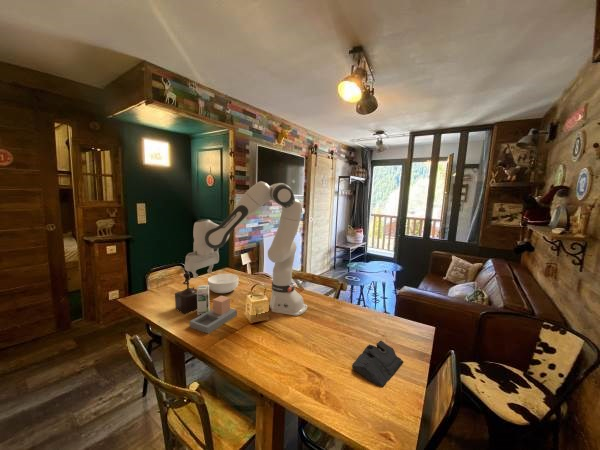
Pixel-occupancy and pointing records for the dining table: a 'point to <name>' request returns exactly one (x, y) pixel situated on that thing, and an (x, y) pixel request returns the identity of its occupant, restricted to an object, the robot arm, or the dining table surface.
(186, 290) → the manual coffee grinder
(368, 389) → the dining table surface
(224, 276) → the bowl
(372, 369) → the dark slate chunk
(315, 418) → the dining table surface
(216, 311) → the tray
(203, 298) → the syrup box
